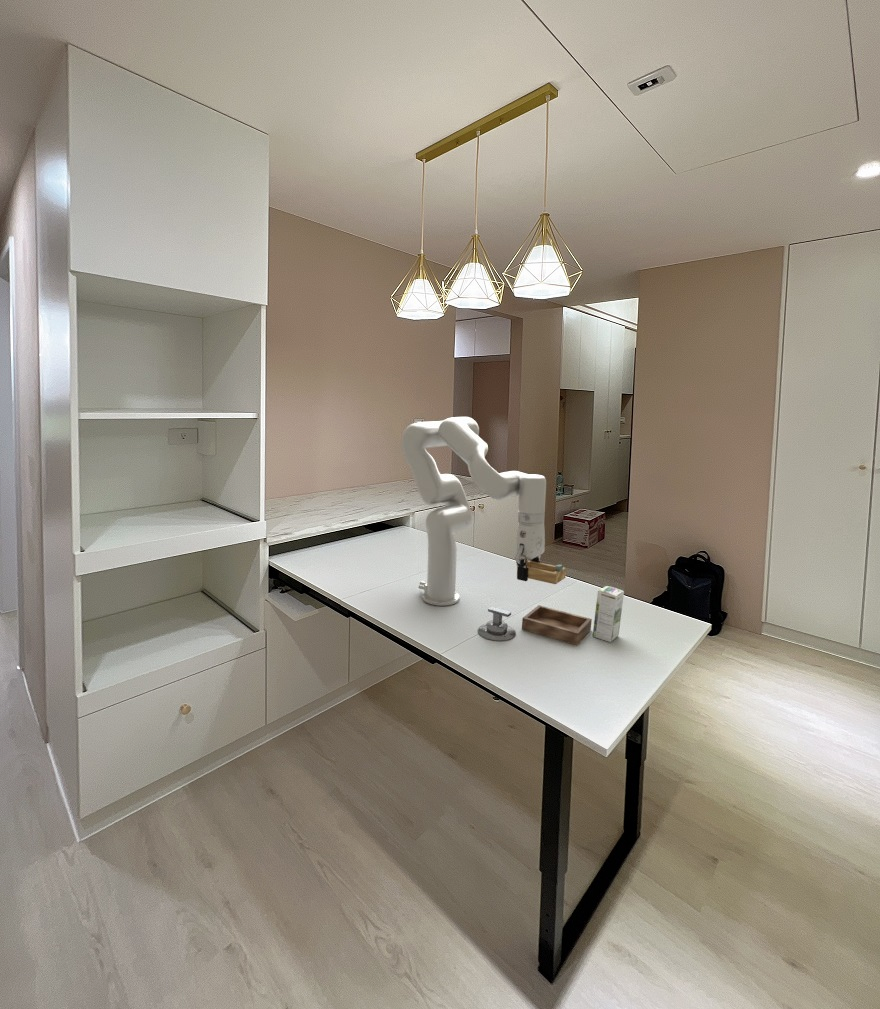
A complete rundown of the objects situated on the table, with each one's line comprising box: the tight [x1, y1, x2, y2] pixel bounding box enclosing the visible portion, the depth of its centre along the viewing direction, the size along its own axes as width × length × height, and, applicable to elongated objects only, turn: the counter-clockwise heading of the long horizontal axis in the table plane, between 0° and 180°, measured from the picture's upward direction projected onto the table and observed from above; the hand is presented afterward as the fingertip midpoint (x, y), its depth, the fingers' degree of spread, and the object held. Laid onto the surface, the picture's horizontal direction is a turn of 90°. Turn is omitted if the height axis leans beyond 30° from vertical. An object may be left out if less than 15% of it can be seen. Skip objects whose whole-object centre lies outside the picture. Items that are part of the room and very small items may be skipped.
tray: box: [521, 604, 593, 646], centre depth 159 cm, size 17×12×4 cm
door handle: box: [477, 606, 517, 642], centre depth 156 cm, size 11×11×7 cm
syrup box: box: [592, 585, 625, 643], centre depth 155 cm, size 6×6×14 cm
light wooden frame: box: [524, 559, 567, 585], centre depth 154 cm, size 7×12×4 cm, turn 54°
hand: (528, 576), depth 157 cm, fingers closed on light wooden frame, 7 cm apart
